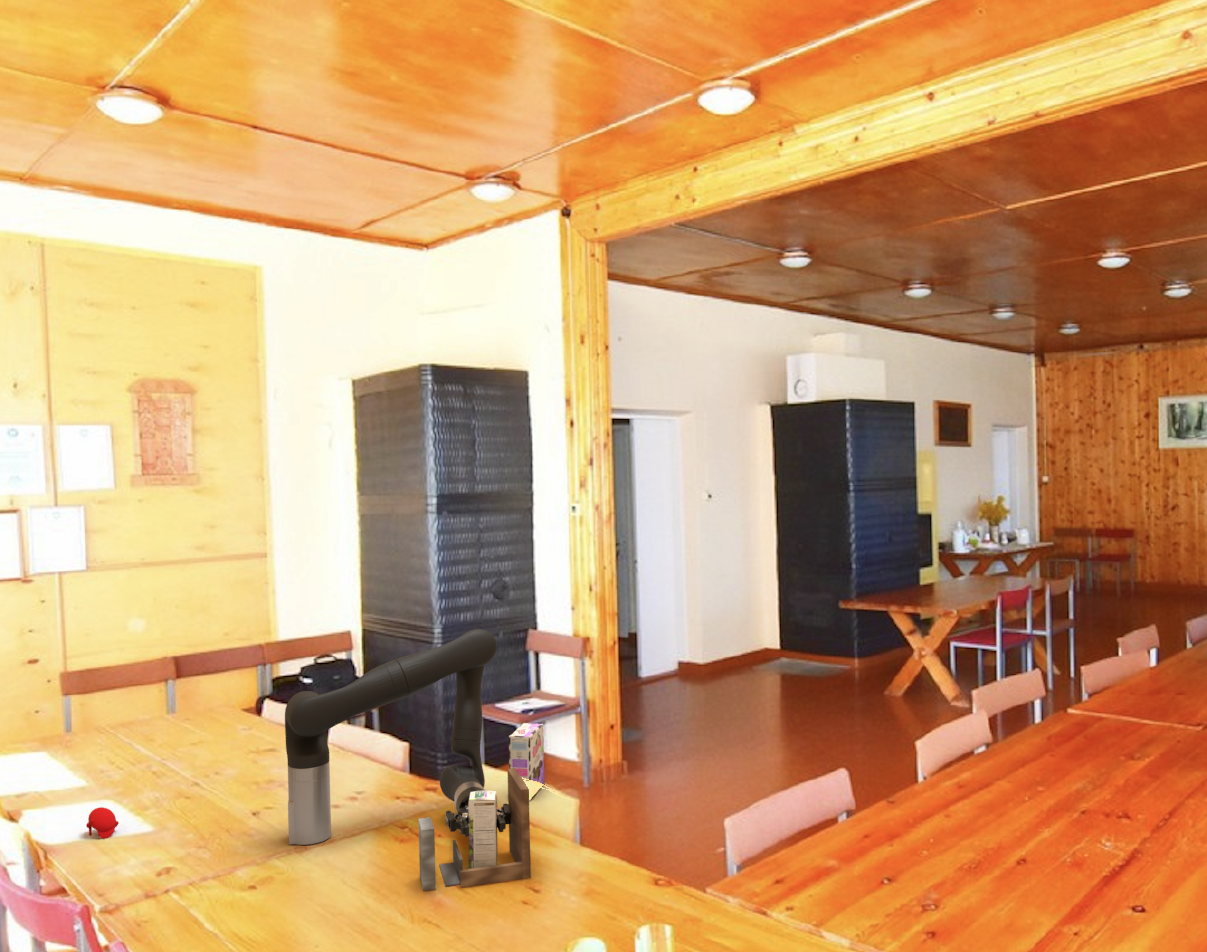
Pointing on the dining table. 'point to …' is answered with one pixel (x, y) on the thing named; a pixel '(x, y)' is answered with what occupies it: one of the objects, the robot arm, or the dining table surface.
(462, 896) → the dining table surface
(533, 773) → the candy box
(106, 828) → the cap
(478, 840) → the syrup box
